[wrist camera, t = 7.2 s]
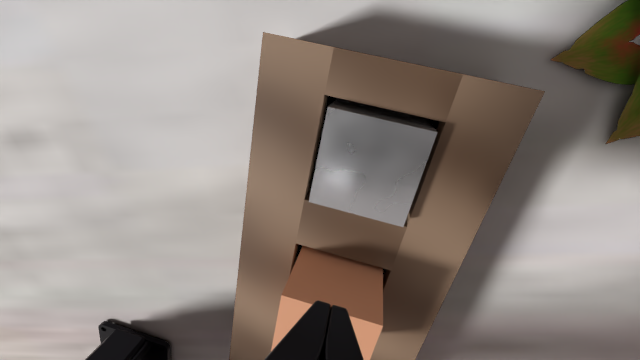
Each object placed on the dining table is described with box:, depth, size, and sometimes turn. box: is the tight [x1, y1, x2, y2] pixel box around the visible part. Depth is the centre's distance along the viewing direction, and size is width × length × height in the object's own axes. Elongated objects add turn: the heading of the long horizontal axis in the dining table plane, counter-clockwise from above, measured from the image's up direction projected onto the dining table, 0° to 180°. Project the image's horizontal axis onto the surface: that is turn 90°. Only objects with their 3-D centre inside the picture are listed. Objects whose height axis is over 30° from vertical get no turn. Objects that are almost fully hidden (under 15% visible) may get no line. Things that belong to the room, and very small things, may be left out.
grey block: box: [309, 98, 438, 227], centre depth 13 cm, size 4×4×4 cm
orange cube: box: [271, 246, 383, 360], centre depth 14 cm, size 4×4×4 cm
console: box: [229, 32, 545, 360], centre depth 17 cm, size 22×10×4 cm, turn 169°
